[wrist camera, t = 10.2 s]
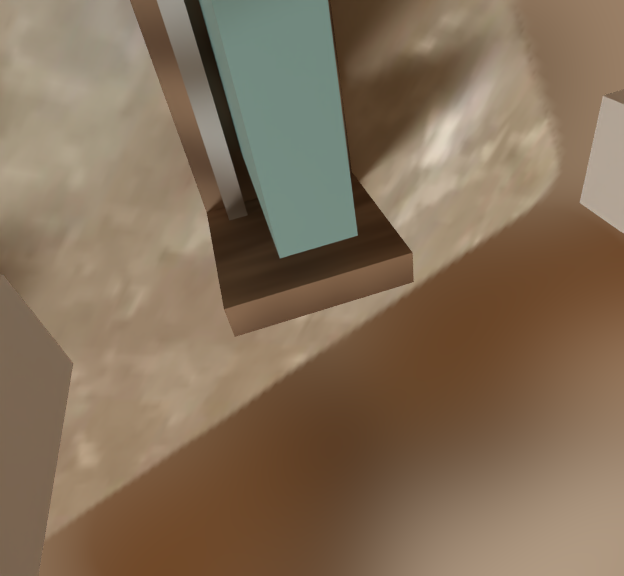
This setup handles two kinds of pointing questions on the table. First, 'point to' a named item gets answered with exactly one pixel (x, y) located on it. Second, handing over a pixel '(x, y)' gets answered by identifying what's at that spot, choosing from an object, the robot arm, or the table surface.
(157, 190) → the table surface
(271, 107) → the green rectangular box
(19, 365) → the robot arm
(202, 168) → the wooden desk organizer
